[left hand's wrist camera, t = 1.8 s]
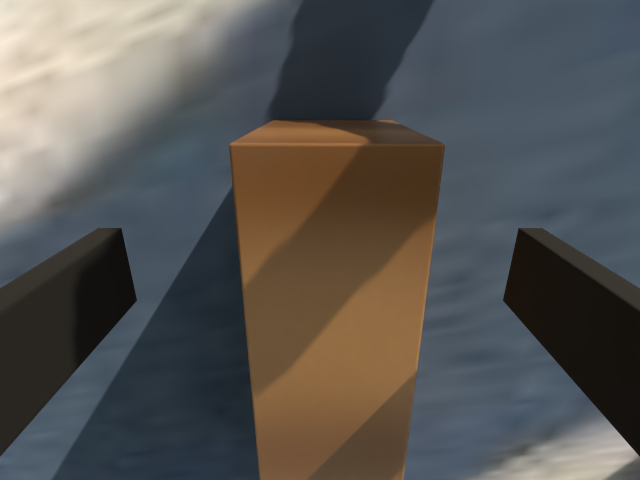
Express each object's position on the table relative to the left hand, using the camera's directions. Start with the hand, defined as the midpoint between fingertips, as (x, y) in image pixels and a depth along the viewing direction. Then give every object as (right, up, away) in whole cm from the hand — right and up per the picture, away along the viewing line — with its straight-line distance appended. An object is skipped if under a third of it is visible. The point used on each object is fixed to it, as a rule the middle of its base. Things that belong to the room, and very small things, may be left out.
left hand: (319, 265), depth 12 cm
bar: (+1, -4, +9) cm, 10 cm away
